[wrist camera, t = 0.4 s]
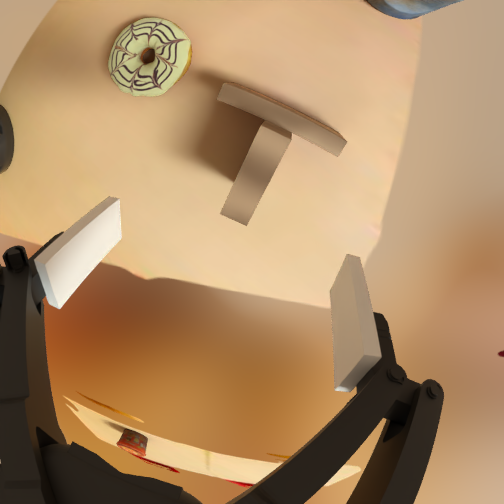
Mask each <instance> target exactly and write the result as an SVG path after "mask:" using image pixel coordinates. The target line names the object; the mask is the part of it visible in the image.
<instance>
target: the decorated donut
mask: <svg viewBox="0 0 504 504" xmlns="http://www.w3.org/2000/svg"><path fill="white" fill-rule="evenodd" d="M150 49H154V50H155V60H154V61H153V62H152V63H148V64H146V63H145V62H144V61H143V54H144V53H145V52H146V51H147V50H150ZM191 57H192V48H191V41H190V40H189V39H188V37H187V36H186V35H185V33H184V32H183V31H182V29H181V28H180V27H179V26H177V25H176V24H174V23H173V22H171V21H168V20H165V19H161V18H155V17H152V18H143V19H140V20H138V21H136V22H134V23H132V24H130V25H129V26H128V27H126V28H125V29H124V30H123V31H122V32H121V33H120V34H119V36H118V37H117V38H116V40H115V42H114V45H113V47H112V50H111V53H110V56H109V61H108V68H109V71H110V76H111V77H112V79H113V81H114V82H115V84H117V86H118V87H119V89H120V90H121V91H123V92H125V93H130V94H132V95H133V96H149V97H154V96H159V95H162V94H164V93H165V92H166V91H167V90H168V89H169V88H170V87H172V86H173V85H174V84H175V83H176V82H177V81H179V80H180V79H181V78H182V76H183V75H184V74H185V73H186V71H187V70H188V68H189V66H190V64H191Z"/></svg>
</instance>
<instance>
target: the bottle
mask: <svg viewBox="0 0 504 504" xmlns="http://www.w3.org/2000/svg"><path fill="white" fill-rule="evenodd" d="M367 1H368V2H369V3H370V4H371V5H372V6H373V7H375V8H376V9H378V10H379V11H381V12H383V13H384V14H387V15H389V16H392V17H395V18H399V19H413V18H417V17H419V16H422V15H425V14H427V13H429V12H432V11H435V10H438V9H440V8H443V7H445V6H448V5H450V4H453V3H456V2H460V1H463V0H367Z"/></svg>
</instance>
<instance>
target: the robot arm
mask: <svg viewBox="0 0 504 504" xmlns="http://www.w3.org/2000/svg"><path fill="white" fill-rule="evenodd" d="M13 151H14V137H13V129H12V125H11V121H10V118H9V116H8V114H7V112H6V110H5V109H4V108H3V107H2V106H1V105H0V174H1V173H3V172H4V171H6V170H7V169H8V167H9V166H10V164H11V161H12V157H13ZM121 238H122V237H121V221H120V199H119V198H114V197H110V196H109V197H108V198H106V199H105V200H104V201H102V202H101V203H100V204H98V205H97V206H96V207H95V208H93V209H92V210H91V211H90V212H88V213H87V214H86V215H85V216H83V217H82V218H81V219H80V220H78V221H77V222H76V223H75V224H74V225H72V226H71V227H70V228H69V229H68V230H66V231H65V232H61V233H59V234H57V235H55V236H54V237H53V238H52V239H50V240H49V242H47V243H46V244H45V245H44V247H43V246H42V247H41V248H40V249H39V250H38V251H37V252H36V253H35V254H34V255H33V256H32V257H31V258H29V259H28V257H27V254H26V251H25V248H24V247H23V246H14V247H11V248H9V249H8V250H6V252H5V253H4V254H3V259H4V262H5V265H6V267H2V266H1V264H0V460H1V464H0V504H202V503H201V502H200V501H199V500H198V499H196V498H195V497H194V496H192V495H191V494H189V493H187V492H185V491H184V490H183V488H182V487H180V486H176V485H173V484H170V483H167V482H163V481H160V480H158V479H154V478H150V477H143V476H136V475H130V474H124V473H121V472H119V471H118V470H117V469H115V468H114V467H113V466H111V465H110V464H109V463H107V462H106V461H105V460H103V459H102V458H101V457H100V456H98V455H97V454H95V453H94V452H91V451H89V450H87V449H86V448H84V447H82V446H80V445H78V444H77V443H74V442H72V443H71V445H69V444H67V443H66V439H65V437H64V435H63V433H62V431H61V429H60V428H59V425H58V422H57V417H56V413H55V408H54V403H53V397H52V392H51V386H50V379H49V372H48V364H47V354H46V342H45V327H44V304H43V301H42V299H43V298H44V297H45V296H46V297H47V300H48V302H49V304H50V305H52V306H54V307H56V308H58V309H60V308H61V307H62V306H63V304H64V303H65V302H66V301H67V300H68V298H69V297H70V296H71V295H72V293H73V292H74V291H75V290H76V289H77V287H78V286H79V285H80V284H81V283H82V281H83V280H84V279H85V278H86V277H87V276H88V274H89V273H90V272H91V271H92V270H93V269H94V268H95V266H96V265H97V264H98V263H99V262H100V261H101V260H102V259H103V258H104V257H105V255H106V254H107V253H108V252H109V251H110V250H111V249H112V248H113V247H114V246H115V245H116V244H117V243H118V241H119V240H120V239H121ZM330 301H331V315H332V331H333V350H334V382H335V383H334V385H335V387H334V388H335V390H336V391H345V392H351V391H352V390H353V389H354V388H355V387H357V394H356V395H355V396H354V397H353V398H352V399H351V400H350V401H349V402H348V403H347V404H346V406H345V407H344V408H343V409H342V410H341V411H340V412H339V413H338V414H337V415H336V416H335V417H334V418H333V419H332V420H331V421H330V422H329V423H328V424H327V425H326V426H325V427H324V428H323V429H322V430H320V432H318V433H317V434H316V435H315V436H314V437H313V438H312V439H311V440H310V441H309V442H307V443H306V444H305V445H304V446H303V447H302V448H301V449H299V450H298V451H297V452H296V453H295V454H294V455H292V456H291V457H290V458H289V459H288V460H286V461H285V462H284V463H283V464H281V465H280V466H279V467H278V468H276V469H275V470H274V471H273V472H271V473H270V474H269V475H267V476H266V477H265V478H263V479H262V480H261V481H259V482H258V483H256V484H255V485H254V486H252V487H251V488H249V489H248V490H246V491H245V492H243V493H242V494H240V495H239V496H237V497H235V498H234V499H232V500H231V501H229V502H227V503H226V504H304V503H305V502H306V501H307V500H308V499H310V498H311V497H312V496H313V495H314V494H315V493H316V492H317V491H318V490H319V489H320V488H321V487H322V486H324V485H325V484H326V483H327V482H328V481H329V480H330V479H331V478H332V477H333V476H334V475H335V474H336V473H337V471H338V470H339V469H340V468H341V467H342V466H343V465H344V464H345V463H346V462H347V461H348V460H349V459H350V457H351V456H352V455H353V454H354V453H355V452H356V451H357V450H358V448H359V447H360V446H361V445H362V444H363V442H364V441H365V440H366V439H367V438H368V436H369V435H370V434H371V433H372V431H373V430H374V429H375V428H376V426H377V425H378V424H379V422H380V421H381V420H382V418H386V419H387V420H386V423H385V425H384V428H383V430H382V433H381V435H380V437H379V440H378V442H377V444H376V447H375V449H374V451H373V453H372V456H371V458H370V460H369V462H368V464H367V466H366V468H365V470H364V472H363V474H362V476H361V478H360V480H359V482H358V483H357V486H356V487H355V489H354V491H353V493H352V495H351V496H350V498H349V500H348V501H347V503H346V504H413V503H414V501H415V499H416V496H417V493H418V491H419V488H420V486H421V483H422V480H423V477H424V474H425V471H426V468H427V465H428V462H429V458H430V455H431V452H432V448H433V445H434V441H435V437H436V433H437V429H438V424H439V419H440V415H441V410H442V405H443V399H444V392H443V389H442V387H441V386H440V384H439V383H437V382H436V381H435V380H432V379H428V380H426V381H424V382H423V383H422V384H419V383H417V382H414V381H412V380H409V379H408V378H407V375H406V373H405V371H404V370H403V368H402V367H401V366H399V365H398V364H397V363H396V358H395V354H394V349H393V344H392V340H391V335H390V333H389V326H388V323H387V321H386V319H385V318H384V316H383V315H382V314H380V313H375V312H373V310H372V305H371V301H370V297H369V292H368V288H367V284H366V280H365V276H364V272H363V268H362V264H361V260H360V257H357V256H353V255H350V254H347V255H346V257H345V260H344V262H343V264H342V266H341V268H340V271H339V273H338V275H337V277H336V279H335V281H334V284H333V286H332V288H331V290H330Z"/></svg>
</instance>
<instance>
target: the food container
mask: <svg viewBox="0 0 504 504" xmlns="http://www.w3.org/2000/svg"><path fill="white" fill-rule="evenodd" d="M147 441H148V439H147V438H146V437H145V436H144V435H142V434H140V433H138V432H135V431H132V430H128V429H125V430H124V432H123V434H122V436H121V438H120V440H119V441H118V442H117V446H118V447H120V448H121V449H123V450H126V451H128V452H129V453H132V454H135V455H137V456H141V457H142V456H143V457H144V456H146V454H145V452H146V446H147Z"/></svg>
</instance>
